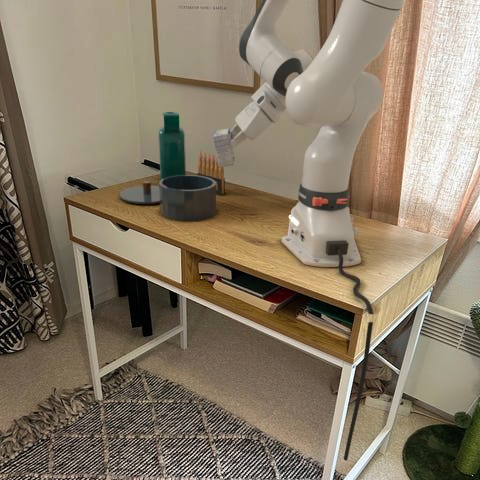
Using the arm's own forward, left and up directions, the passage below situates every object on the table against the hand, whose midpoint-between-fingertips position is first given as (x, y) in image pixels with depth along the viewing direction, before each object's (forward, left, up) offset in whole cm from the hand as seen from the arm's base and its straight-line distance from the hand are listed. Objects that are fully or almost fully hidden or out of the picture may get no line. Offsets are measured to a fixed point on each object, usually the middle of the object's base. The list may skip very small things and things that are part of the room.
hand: (230, 142), depth 137 cm
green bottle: (+26, +16, -18) cm, 36 cm away
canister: (-6, +12, -18) cm, 23 cm away
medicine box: (0, +1, -6) cm, 6 cm away
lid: (+8, +24, -18) cm, 31 cm away
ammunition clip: (+14, +4, -18) cm, 24 cm away
